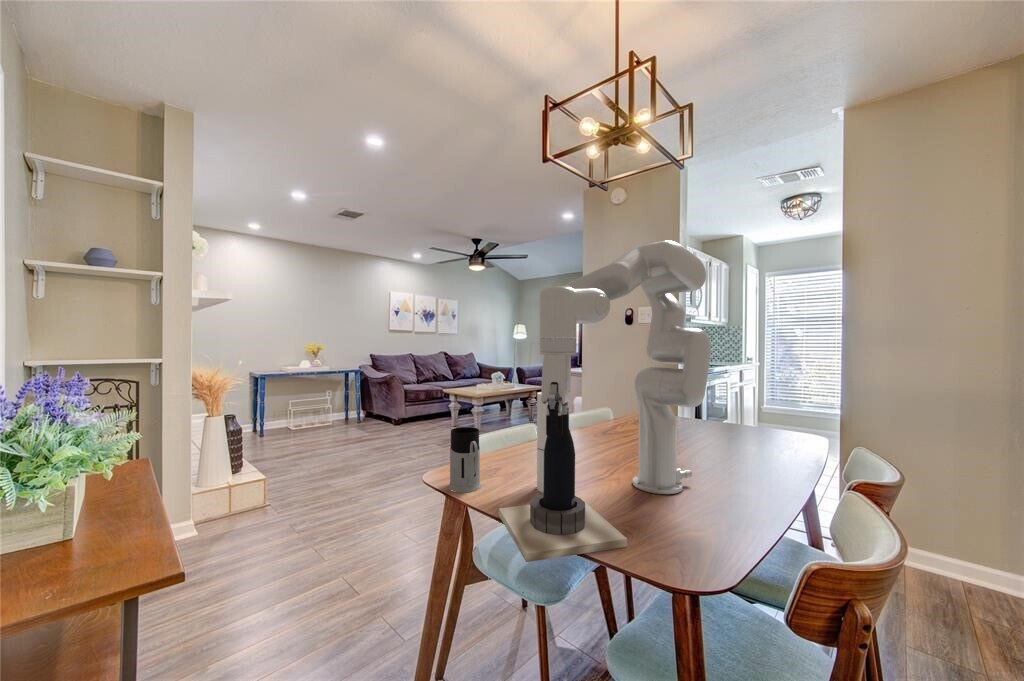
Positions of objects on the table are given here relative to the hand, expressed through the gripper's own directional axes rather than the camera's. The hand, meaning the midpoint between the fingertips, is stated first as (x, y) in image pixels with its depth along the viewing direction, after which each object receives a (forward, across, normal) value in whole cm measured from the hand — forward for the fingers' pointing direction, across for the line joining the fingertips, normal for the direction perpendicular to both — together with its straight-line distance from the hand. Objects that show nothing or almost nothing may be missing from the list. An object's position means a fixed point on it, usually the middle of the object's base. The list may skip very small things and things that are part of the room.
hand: (557, 430), depth 84 cm
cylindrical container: (+21, -22, -5) cm, 31 cm away
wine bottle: (+19, 0, 0) cm, 19 cm away
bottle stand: (+20, 0, 0) cm, 20 cm away
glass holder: (+21, -16, -26) cm, 37 cm away
